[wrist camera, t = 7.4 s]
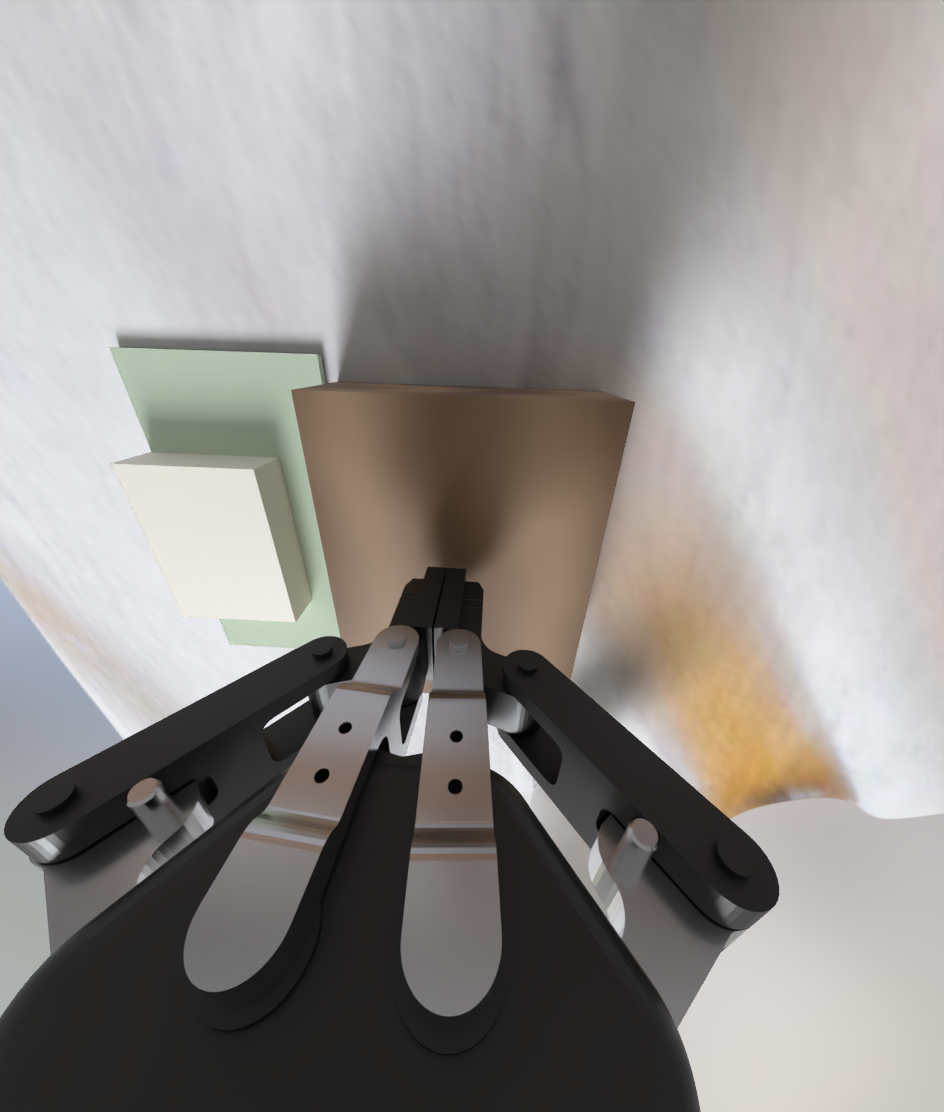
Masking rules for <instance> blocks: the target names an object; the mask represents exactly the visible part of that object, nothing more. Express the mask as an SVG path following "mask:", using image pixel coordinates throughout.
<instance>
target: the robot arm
mask: <svg viewBox="0 0 944 1112" xmlns="http://www.w3.org/2000/svg"><path fill="white" fill-rule="evenodd" d="M483 595H484V590H483V588H482V587H481V585H480V583H479V582H468V581H466V569H463V568H445V567H427V570H426V573H425V576H424V579H417V578H413V579H412V580H411V581H410V582H409V583H407V584H406V585H405V587H404V590H403V592H402V596H401V597H400V600H399V603H398V605H397V607H396V610H395V612H394V615H393V617H392V620H391V622H390V625H389V627H387V628H385V629H383V630H382V631H380V632H379V633H378V634H377V636H376V637H375V639H374V641H373V642H372V643H369V644H365V645H360V646H354V647H349V648H347V644H346V642H345V641H344V640H343V639H341V638H339V637H335V636H325V637H320V638H317V639H314V640H312V641H310V642H308V643H306V644H304V645H302V646H301V647H299V648H297V649H295V650H293V651H291V652H289V653H287V654H285V655H283V656H282V657H280V658H278V659H276V660H274V661H272V662H270V663H268V664H266V665H265V666H263V667H261V668H259V669H257V670H255V671H253V672H251V673H249V674H248V675H246V676H244V677H242V678H240V679H238V680H236V681H234V682H232V683H231V684H229V685H227V686H225V687H223V688H221V689H219V690H217V691H215V692H214V693H212V694H210V695H208V696H206V697H204V698H202V699H200V700H198V701H196V702H195V703H193V704H191V705H189V706H187V707H185V708H183V709H181V710H179V711H178V712H176V713H174V714H172V715H170V716H168V717H166V718H164V719H162V720H161V721H159V722H157V723H155V724H153V725H151V726H149V727H147V728H145V729H144V730H142V731H140V732H138V733H136V734H134V735H132V736H130V737H128V738H127V739H125V740H123V741H121V742H119V743H117V744H115V745H114V746H111V747H110V748H108V749H106V750H104V751H102V752H100V753H98V754H96V755H94V756H92V757H91V758H89V759H87V760H85V761H83V762H81V763H79V764H78V765H76V766H74V767H72V768H70V769H68V770H66V771H65V772H62V773H60V774H59V775H57V776H55V777H53V778H51V779H50V780H48V781H46V782H45V783H43V784H42V785H40V786H39V787H37V788H36V789H35V790H34V791H32V792H31V793H30V794H29V795H27V797H25V798H24V799H23V800H22V801H21V802H20V803H19V804H18V805H17V807H16V808H15V809H14V810H13V812H12V813H11V815H10V816H9V818H8V820H7V822H6V824H5V828H4V834H5V836H6V838H7V839H8V840H9V841H10V842H11V843H12V844H14V845H15V846H16V847H18V848H19V849H20V850H21V851H23V852H24V853H25V854H26V855H28V856H29V859H30V861H31V862H32V863H33V864H34V865H35V866H36V867H38V868H39V869H40V870H42V871H43V872H44V881H45V894H46V905H47V917H48V929H49V940H50V952H51V956H50V957H49V958H48V959H47V960H46V961H45V962H44V963H43V964H42V965H41V966H40V967H39V969H38V970H37V971H36V972H35V973H34V974H33V975H32V976H31V977H30V979H29V980H28V981H27V982H26V984H25V985H24V986H23V988H22V989H21V990H20V991H19V992H18V993H17V995H16V996H15V998H14V999H13V1000H12V1002H11V1003H10V1005H9V1006H8V1007H7V1009H6V1010H5V1011H4V1013H3V1015H2V1016H1V1018H0V1112H700V1106H699V1101H698V1096H697V1091H696V1086H695V1082H694V1078H693V1074H692V1070H691V1067H690V1063H689V1060H688V1057H687V1054H686V1051H685V1048H684V1045H683V1042H682V1040H681V1037H680V1035H679V1032H678V1030H677V1028H678V1026H679V1024H680V1023H681V1021H682V1019H683V1017H684V1016H685V1014H686V1012H687V1010H688V1008H689V1007H690V1005H691V1003H692V1002H693V1000H694V998H695V996H696V994H697V993H698V991H699V989H700V987H701V986H702V984H703V982H704V981H705V979H706V977H707V975H708V973H709V972H710V970H711V968H712V967H713V965H714V963H715V961H716V959H717V958H718V956H719V954H720V953H721V952H722V951H723V950H724V949H725V948H726V947H728V946H729V945H730V944H731V943H732V942H733V941H735V940H736V939H737V938H738V937H739V936H740V935H741V934H743V933H744V932H745V931H746V930H747V929H749V928H750V927H751V926H752V925H753V924H754V923H756V922H757V921H758V920H759V919H760V918H761V917H763V916H764V915H765V914H766V913H767V912H768V911H769V910H771V908H773V907H774V906H775V905H776V903H777V901H778V897H779V884H778V879H777V877H776V873H775V871H774V869H773V866H772V864H771V863H770V861H769V859H768V858H767V856H766V855H765V853H764V852H763V851H762V849H761V848H760V847H759V846H758V845H757V843H756V842H755V841H754V840H753V839H751V837H750V836H748V835H747V834H746V833H745V832H744V831H743V830H742V829H740V828H739V827H738V826H737V825H736V824H735V823H733V822H732V821H731V820H730V819H729V818H728V817H727V816H726V815H724V814H723V813H722V812H721V811H720V810H719V809H718V808H716V807H715V806H714V805H713V804H712V803H711V802H710V801H708V800H707V799H706V798H705V797H704V796H703V795H702V794H700V793H699V792H698V791H697V790H696V789H695V788H694V787H692V786H691V785H690V784H689V783H688V782H687V781H685V780H684V779H683V778H682V777H681V776H680V775H679V774H677V773H676V772H675V771H674V770H673V769H672V768H671V767H669V766H668V765H667V764H666V763H665V762H664V761H663V760H661V759H660V758H659V757H658V756H657V755H656V754H655V753H653V752H652V751H651V750H650V749H649V748H648V747H647V746H645V745H644V744H643V743H642V742H641V741H640V740H639V739H637V738H636V737H635V736H634V735H633V734H632V733H631V732H629V731H628V730H627V729H626V728H625V727H624V726H623V725H621V724H620V723H619V722H618V721H617V720H616V719H615V718H613V717H612V716H611V715H610V714H609V713H608V712H606V711H605V710H604V709H603V708H602V707H601V706H600V705H598V704H597V703H596V702H595V701H594V700H593V699H592V698H590V697H589V696H588V695H587V694H586V693H585V692H584V691H582V690H581V689H580V688H579V687H578V686H577V685H576V684H574V683H573V682H572V681H571V680H570V679H569V678H568V677H566V676H565V675H564V674H563V673H562V672H561V671H560V670H558V669H557V668H556V667H555V666H554V665H553V664H552V663H550V662H549V661H548V660H547V659H546V658H545V657H543V656H542V655H541V654H539V653H537V652H534V651H531V650H517V651H514V652H511V653H510V654H508V655H507V656H503V655H500V654H498V653H495V652H493V651H491V650H490V649H489V648H488V647H487V646H486V645H485V644H484V643H483V641H482V637H481V633H482V614H483ZM425 680H429V681H433V682H432V691H431V692H430V694H429V700H428V709H427V718H426V728H425V737H424V746H423V753H422V754H416V755H411V756H406V752H407V748H408V745H409V742H410V738H411V735H412V732H413V729H414V725H415V722H416V719H417V715H418V712H419V709H420V706H421V702H422V692H423V689H424V684H425ZM307 696H308V697H309V701H307V702H306V703H304V704H302V705H301V706H299V707H298V708H296V709H295V710H293V711H292V712H290V713H288V714H287V715H285V716H284V717H282V718H281V719H279V720H277V721H276V722H274V723H273V724H271V725H270V726H268V727H266V728H265V729H263V728H264V727H265V725H266V724H267V723H268V722H269V721H270V720H271V719H272V718H274V717H275V716H277V715H278V714H280V713H282V712H283V711H285V710H286V709H288V708H290V707H291V706H293V705H294V704H296V703H297V702H299V701H301V700H302V699H304V698H305V697H307ZM487 724H489V725H492V726H494V727H497V730H498V733H499V735H500V737H501V738H502V739H503V741H504V742H505V743H506V744H507V746H508V747H509V748H510V749H511V751H512V752H513V753H514V754H515V756H516V757H517V758H518V759H519V761H520V762H521V763H522V764H523V766H524V767H525V768H526V769H527V771H528V772H529V773H530V774H531V775H532V777H533V778H534V779H535V780H536V782H537V783H538V784H539V785H540V787H541V788H542V789H543V790H544V792H545V793H546V794H547V795H548V797H549V798H550V799H551V800H552V802H553V803H554V804H555V805H556V807H557V808H558V809H559V810H560V812H561V813H562V814H563V815H564V817H565V818H566V819H567V820H568V822H569V823H570V824H571V825H572V827H573V828H574V829H575V830H576V832H577V833H578V834H579V835H580V837H581V838H582V839H583V840H584V842H585V843H586V844H587V845H588V847H589V848H590V849H591V851H590V854H589V859H588V868H589V874H590V878H591V881H592V884H593V886H594V888H595V890H596V892H597V893H598V895H599V897H600V898H601V900H602V902H603V904H604V906H605V908H606V910H607V913H608V916H609V919H610V922H609V920H608V919H607V917H606V916H605V914H604V913H603V911H602V910H601V909H600V907H599V906H598V904H597V903H596V901H595V900H594V899H593V897H592V896H591V894H590V893H589V891H588V890H587V889H586V887H585V886H584V884H583V883H582V881H581V880H580V878H579V877H578V876H577V874H576V873H575V871H574V870H573V868H572V867H571V866H570V864H569V863H568V861H567V860H566V858H565V857H564V856H563V854H562V853H561V851H560V850H559V848H558V847H557V845H556V844H555V843H554V841H553V840H552V838H551V837H550V835H549V834H548V833H547V831H546V830H545V828H544V827H543V825H542V824H541V822H540V821H539V820H538V818H537V817H536V815H535V814H534V812H533V811H532V809H531V808H530V807H529V805H528V804H527V802H526V801H525V799H524V798H523V797H522V795H521V794H520V793H519V792H518V790H517V789H516V788H515V787H514V786H513V785H512V784H511V783H510V782H509V781H507V780H506V779H505V778H504V777H502V776H501V775H500V774H498V773H497V772H495V771H493V770H491V769H490V760H489V743H488V726H487Z"/></svg>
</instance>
